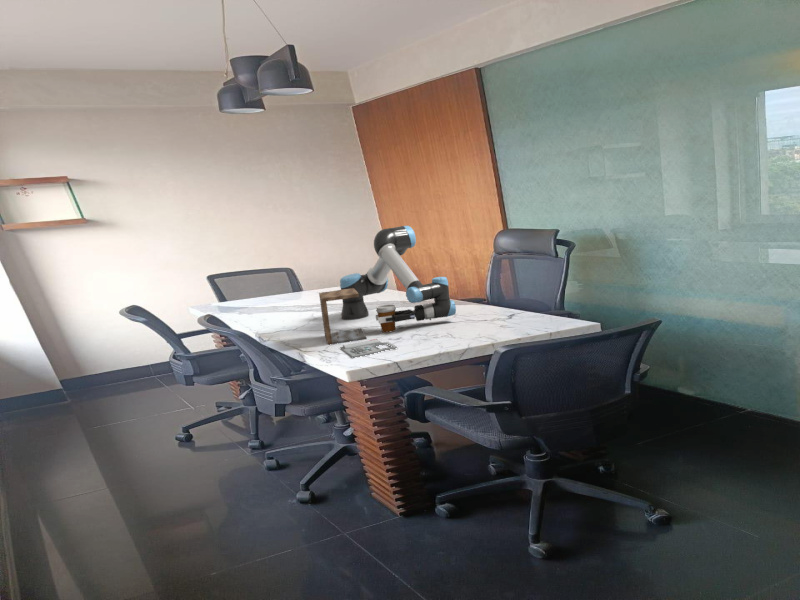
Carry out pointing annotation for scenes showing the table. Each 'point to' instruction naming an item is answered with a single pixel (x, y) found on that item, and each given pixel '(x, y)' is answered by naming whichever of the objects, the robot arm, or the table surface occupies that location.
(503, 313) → the table surface
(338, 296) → the walnut overhang shelf
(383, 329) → the disposable coffee cup
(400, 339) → the table surface
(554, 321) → the table surface
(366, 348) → the office telephone
